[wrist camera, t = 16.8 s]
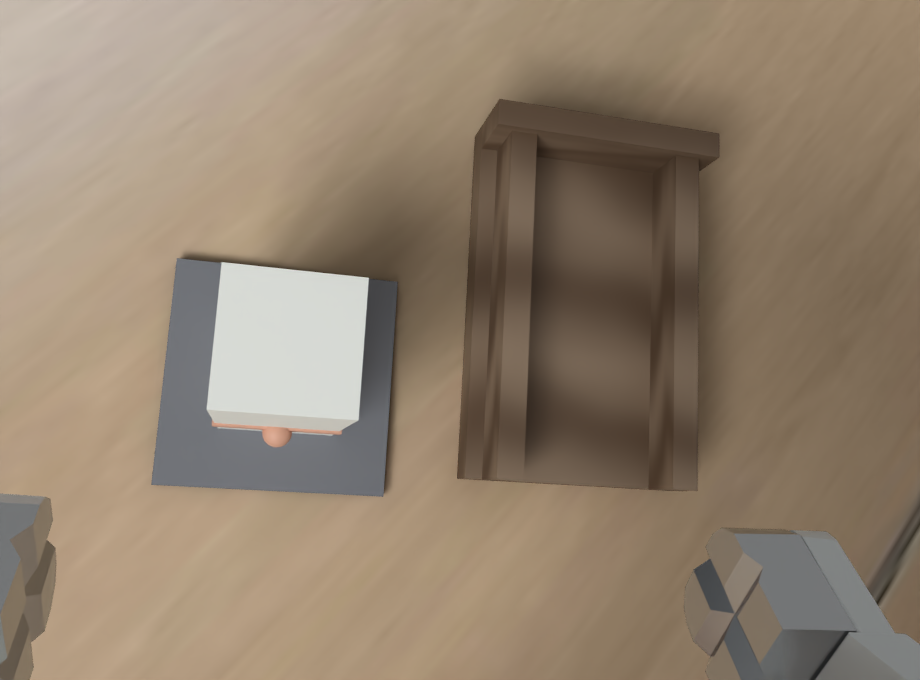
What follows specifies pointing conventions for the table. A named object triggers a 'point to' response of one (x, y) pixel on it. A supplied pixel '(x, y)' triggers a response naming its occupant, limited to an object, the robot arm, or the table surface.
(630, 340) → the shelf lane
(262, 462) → the mat
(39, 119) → the table surface
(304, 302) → the block
